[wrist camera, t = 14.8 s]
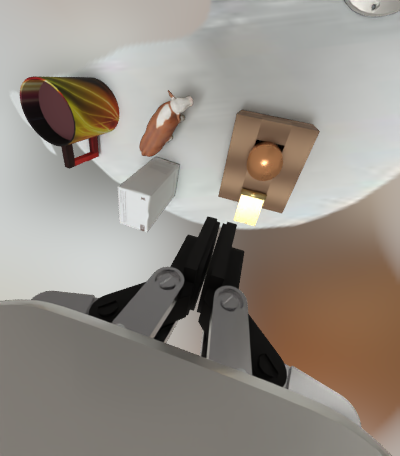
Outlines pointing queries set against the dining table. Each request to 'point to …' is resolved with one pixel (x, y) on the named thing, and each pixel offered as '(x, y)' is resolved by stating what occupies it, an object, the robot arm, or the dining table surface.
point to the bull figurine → (163, 124)
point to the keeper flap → (249, 206)
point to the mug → (69, 112)
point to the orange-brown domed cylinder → (264, 161)
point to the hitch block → (272, 132)
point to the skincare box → (147, 193)
